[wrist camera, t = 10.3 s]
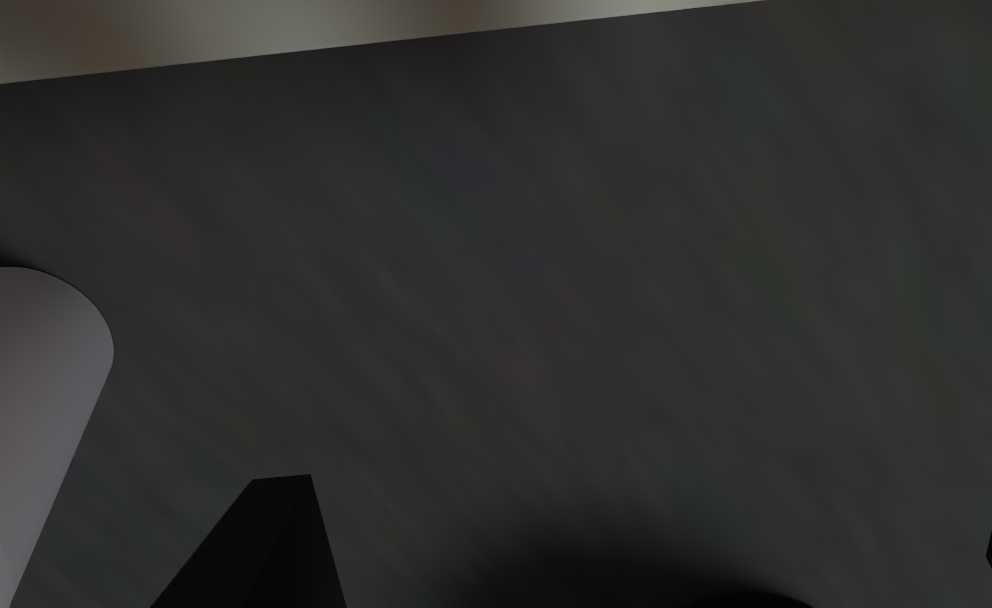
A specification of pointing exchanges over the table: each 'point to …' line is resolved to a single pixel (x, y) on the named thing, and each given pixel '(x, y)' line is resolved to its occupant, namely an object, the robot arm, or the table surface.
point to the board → (255, 27)
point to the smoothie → (42, 402)
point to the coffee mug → (750, 602)
